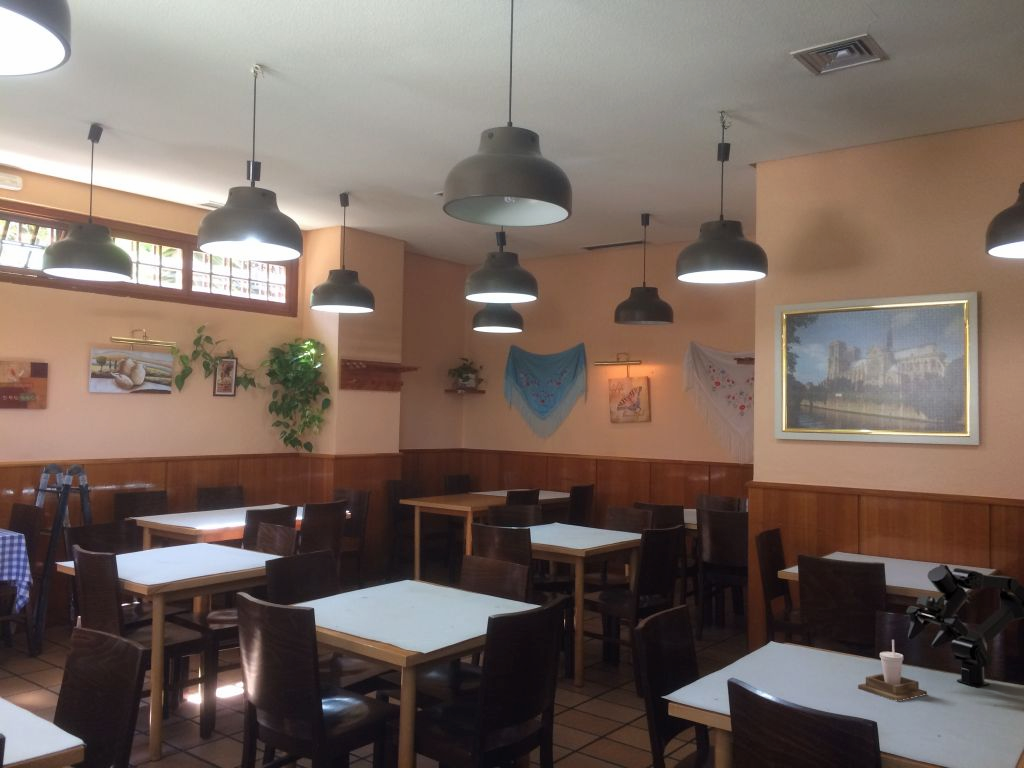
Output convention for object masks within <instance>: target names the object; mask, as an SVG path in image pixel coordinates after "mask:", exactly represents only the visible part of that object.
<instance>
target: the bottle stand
mask: <svg viewBox="0 0 1024 768" xmlns="http://www.w3.org/2000/svg"><path fill="white" fill-rule="evenodd" d="M919 684H920V683H919V681H917V680H914V679H910V678H908V677H904V676H901V679H900V684H898V685H893V684H890V683H886V682H885V681H884V674H883V673H878V674H874V675H869V676H865V683H861V684H858V685H857V688H858V689H859V690H860V691H861V690H862V691H864V692H867V693H871V694H872V695H873V694H874V695H877V696H880V697H882V696H883V698H885V697H886V698H885V699H888V698H890V699H889V700H891V699H893V700H892V701H894V700H897V701H898V700H902V701H904V700H903V699H907V698H911V697H915V696H919V695H923V694H927V695H928V691H927V690H924V689H920V687H919V686H920V685H919ZM915 698H916V697H915ZM911 699H912V698H911ZM907 700H908V699H907ZM897 701H896V702H897ZM898 702H899V701H898Z"/></svg>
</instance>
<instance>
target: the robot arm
mask: <svg viewBox="0 0 1024 768" xmlns="http://www.w3.org/2000/svg"><path fill="white" fill-rule="evenodd" d="M927 578H928V580H929V582H931V584H932V585H933V587H934V588H936V590H937V591H938V592H939V593H940V594H941V596H937V595H936V596H934V597H932V596H929V595H925V594H922V593H919V595H918V597H917V600H916V603H915V604H916V605H918V607H917V606H914V605H909V606H908V607H907V609H906V611H905V613H907V616H908V617H909V618H910V619H909V620H910V625H909V630H908V635H907V639H908V640H909V641H911V640H913V639H914V638H916V637H917V636H918V635H919V634H921V633H922V632H923V631H924V630H925V629H927V627H926V626H929V624H930V623H931V624H935V625H938V626H940V630H939V631H938V633H937V635H936V637H935V638H934V640H933V641H932V643H931V647H932V648H933V649H935V648H938V647H939V646H942V645H945V644H947V643H950V642H951V643H950V647H951V651H952V655H953V657H954V660H955V661H959V662H961V663H960V675H961V676H960V678H958V679H956V682H957V683H961V684H964V685H967V684H968V685H967V686H970V687H971V686H972V687H974V688H980V687H981V688H982V687H985V686H989V685H990V682H988V681H985V668H988V667H989V666H991V664H992V657H991V656H990V655H989V653H988V644H989V643H991V641H993V639H995V638H996V637H997V636H998V635H999V634H1000V633H1001V632H1002V631H1003V630H1005V629H1006V628H1007V627H1009V626H1010V625H1011V623H1013V622H1014V621H1015V620H1021V619H1024V587H1023V586H1021V584H1020V583H1019V581H1018V580H1017V579H1016V578H1015V577H1011V576H1006V575H994V574H993V575H991V574H984V573H982V572H979V571H975V570H970V569H966V568H961V567H957V568H956V567H955V568H953V571H951V569H950V568H949V566H948V565H947V564H942V563H941V564H940V565H939V566H937V567H934V568H933V569H931V570H929V571H928V573H927ZM983 588H991V589H998V595H997V596H998V598H999V600H1000V601H999V608H998V609H997V610H996V611H994V612H992V614H991V615H990V616H989V617H988V618H986V619H985V620H984V621H983V622H981V624H979V625H978V626H977V627H976V628H975V629H974V630H973V631H972V630H969V629H968V628H967V627H966V625H965V624H964V623H963V622H962V621H961V620H960V618H958V617H959V616H960V612H959V610H960V608H961V607H963V605H964V603H965V602H967V603H969V604H972V602H973V601H972V598H971V593H970V592H967V591H966V589H967V590H970V591H976V590H982V589H983ZM1009 591H1011V592H1009ZM919 606H921V607H924V610H925V611H924V610H923V608H921V607H919ZM927 613H928V614H927Z"/></svg>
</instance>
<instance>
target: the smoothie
mask: <svg viewBox="0 0 1024 768" xmlns="http://www.w3.org/2000/svg"><path fill="white" fill-rule="evenodd" d="M891 646H892V647H891V649H892V650H891V651H881V652H880V653H879V658H880V660H881V666H882V667H881V668H882V672H883V673H882V674H884V681H885V682H886V683H890V684H893V685H898V684H900V679H901V677H902V668H903V661H904V655H903V654H902V653H898V652H895V639H891Z"/></svg>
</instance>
